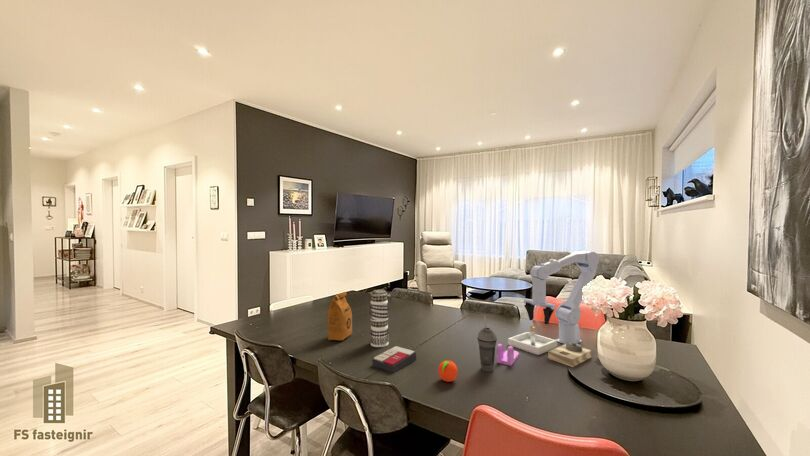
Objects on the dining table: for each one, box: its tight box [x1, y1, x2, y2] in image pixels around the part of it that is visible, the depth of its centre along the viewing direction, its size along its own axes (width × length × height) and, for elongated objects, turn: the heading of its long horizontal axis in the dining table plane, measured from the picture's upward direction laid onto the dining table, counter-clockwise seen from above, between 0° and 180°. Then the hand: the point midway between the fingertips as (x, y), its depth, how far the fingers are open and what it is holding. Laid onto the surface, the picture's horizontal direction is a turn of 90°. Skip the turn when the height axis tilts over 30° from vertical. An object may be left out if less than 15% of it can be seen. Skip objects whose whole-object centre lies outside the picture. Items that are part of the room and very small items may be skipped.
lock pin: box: [529, 325, 537, 346], centre depth 146 cm, size 3×3×8 cm
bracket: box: [496, 343, 520, 366], centre depth 133 cm, size 13×6×7 cm, turn 145°
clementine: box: [437, 359, 459, 383], centre depth 114 cm, size 8×7×7 cm
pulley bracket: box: [547, 342, 592, 368], centre depth 133 cm, size 15×10×6 cm, turn 126°
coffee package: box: [327, 291, 353, 342], centre depth 160 cm, size 10×12×22 cm
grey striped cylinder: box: [368, 289, 390, 348], centre depth 152 cm, size 9×9×25 cm
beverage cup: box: [477, 315, 497, 372], centre depth 124 cm, size 7×7×20 cm
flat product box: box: [371, 345, 417, 374], centre depth 130 cm, size 11×4×15 cm
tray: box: [507, 331, 558, 356], centre depth 147 cm, size 15×15×3 cm
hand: (538, 321), depth 148 cm, fingers open, 7 cm apart
